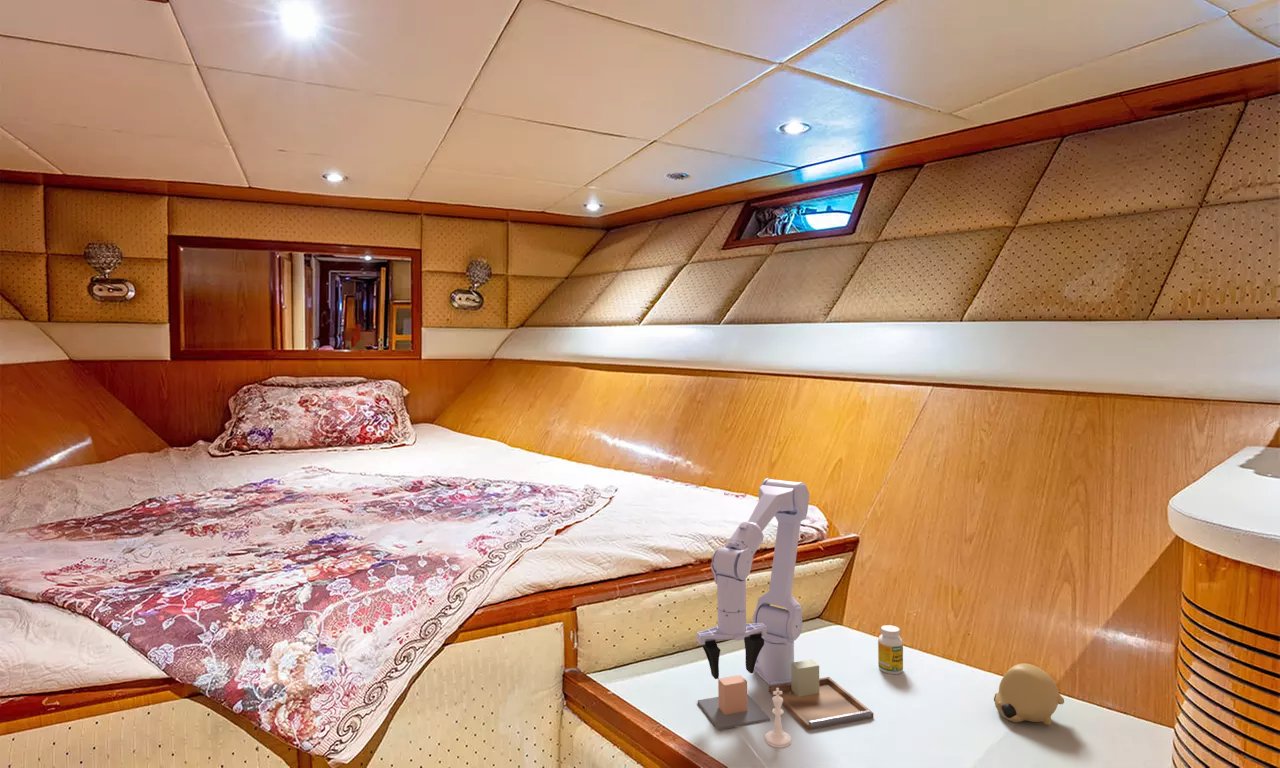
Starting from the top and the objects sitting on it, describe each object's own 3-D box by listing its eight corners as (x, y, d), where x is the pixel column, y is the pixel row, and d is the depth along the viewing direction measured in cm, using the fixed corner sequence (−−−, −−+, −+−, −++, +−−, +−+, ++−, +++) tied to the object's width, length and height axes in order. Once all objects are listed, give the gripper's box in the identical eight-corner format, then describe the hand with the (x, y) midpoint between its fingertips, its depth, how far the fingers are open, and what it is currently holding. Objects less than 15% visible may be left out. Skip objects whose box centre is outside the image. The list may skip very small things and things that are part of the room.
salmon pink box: (718, 707, 137) (718, 678, 137) (740, 703, 138) (740, 674, 138) (724, 715, 134) (724, 685, 134) (747, 710, 135) (747, 681, 135)
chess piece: (761, 734, 128) (761, 682, 128) (786, 732, 128) (786, 681, 128) (768, 749, 123) (768, 695, 123) (794, 747, 123) (794, 694, 123)
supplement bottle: (887, 662, 158) (887, 621, 157) (908, 670, 153) (908, 629, 153) (873, 668, 155) (873, 627, 154) (893, 677, 150) (893, 634, 150)
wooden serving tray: (769, 692, 144) (768, 685, 144) (828, 682, 148) (828, 675, 148) (807, 731, 129) (807, 723, 129) (873, 718, 133) (873, 710, 133)
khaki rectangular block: (791, 690, 144) (791, 662, 144) (811, 686, 146) (811, 659, 146) (798, 696, 142) (798, 668, 141) (819, 693, 143) (819, 665, 143)
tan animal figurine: (1018, 723, 137) (975, 684, 139) (1062, 684, 135) (1018, 645, 137) (1033, 749, 127) (987, 706, 130) (1080, 707, 125) (1033, 664, 127)
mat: (697, 703, 140) (697, 700, 140) (745, 694, 143) (745, 692, 143) (718, 730, 129) (718, 727, 129) (769, 721, 133) (769, 718, 132)
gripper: (705, 619, 130) (706, 688, 130) (773, 610, 134) (774, 677, 134) (692, 606, 136) (693, 672, 137) (757, 598, 141) (758, 662, 141)
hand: (732, 673), depth 136 cm, fingers open, 7 cm apart
